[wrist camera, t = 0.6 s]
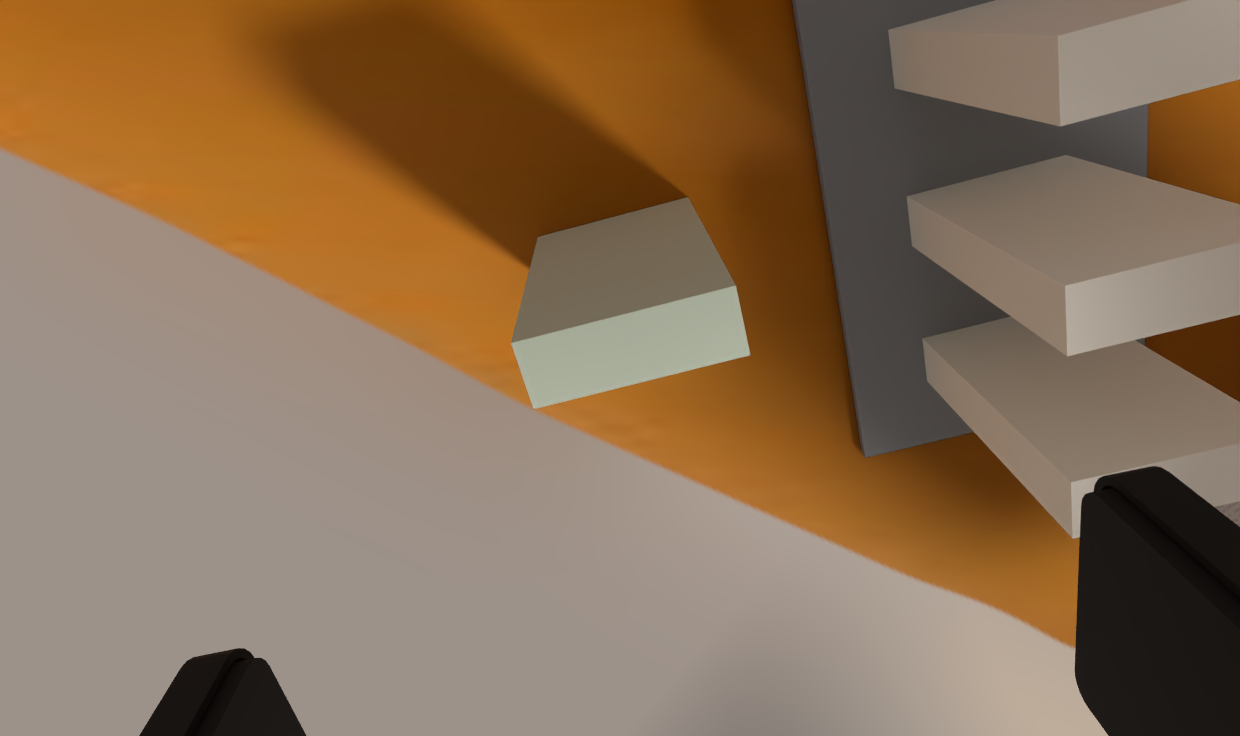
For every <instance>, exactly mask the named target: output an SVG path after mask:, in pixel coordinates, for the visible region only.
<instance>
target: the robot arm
mask: <svg viewBox="0 0 1240 736" xmlns="http://www.w3.org/2000/svg"><path fill="white" fill-rule="evenodd" d="M1075 677H1076V681H1077V685H1078V688H1079V691H1080V693H1081V695H1082V697H1083V700H1084V702H1085V703H1086V705H1087V706H1088V708H1089V709H1090V711H1091V712H1092V713H1093V715H1094V716H1095V718H1096V719H1097V720H1098V722H1099V723H1100V724H1101V726H1102V727H1103V728H1104V730H1105V731H1106V733H1107V734H1108V735H1109V736H1240V527H1239V526H1238V525H1237V524H1235V523H1234V522H1233V521H1232V520H1230V519H1229V518H1228V517H1226V516H1225V515H1224V514H1223V513H1221V512H1220V511H1219V510H1217V509H1216V508H1215V507H1214V506H1212V505H1211V504H1210V503H1208V502H1207V501H1206V500H1205V499H1203V498H1202V497H1201V496H1199V495H1198V494H1197V493H1196V492H1194V491H1193V490H1192V489H1191V488H1189V487H1188V486H1187V485H1185V484H1184V483H1183V482H1182V481H1180V480H1179V479H1178V478H1176V477H1175V476H1174V475H1173V474H1171V473H1170V472H1169V471H1167V470H1165V469H1163V468H1162V467H1157V466H1151V467H1146V468H1141V469H1136V470H1131V471H1126V472H1121V473H1116V474H1111V475H1106V476H1102V477H1100V478H1098V480H1097V482H1096V483H1095V486H1094V492H1090V493H1087V494H1085V495H1084V497H1083V498H1082V503H1081V520H1080V546H1079V573H1078V599H1077V626H1076V654H1075ZM140 736H306V734H305V732H304V730H303V728H302V727H301V725H300V723H299V721H298V719H297V717H296V715H295V713H294V712H293V710H292V708H291V706H290V704H289V702H288V700H287V698H286V696H285V695H284V693H283V691H282V689H281V687H280V685H279V683H278V681H277V679H276V677H275V676H274V674H273V672H272V670H271V668H270V666H269V665H268V663H267V662H266V661H265V660H264V659H262V658H254V657H253V655H252V654H251V653H250V652H249V651H247V650H246V649H240V648H239V649H233V650H228V651H223V652H218V653H213V654H208V655H203V656H198V657H193V658H192V659H190V660H188V661H186V663H185V664H184V665H183V666H182V668H181V669H180V670H179V672H178V674H177V675H176V677H175V678H174V680H173V682H172V683H171V685H170V687H169V688H168V690H167V692H166V693H165V695H164V696H163V698H162V700H161V701H160V703H159V705H158V706H157V708H156V709H155V711H154V713H153V714H152V716H151V718H150V719H149V721H148V722H147V724H146V726H145V727H144V729H143V731H142V732H141V734H140Z"/></svg>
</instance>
